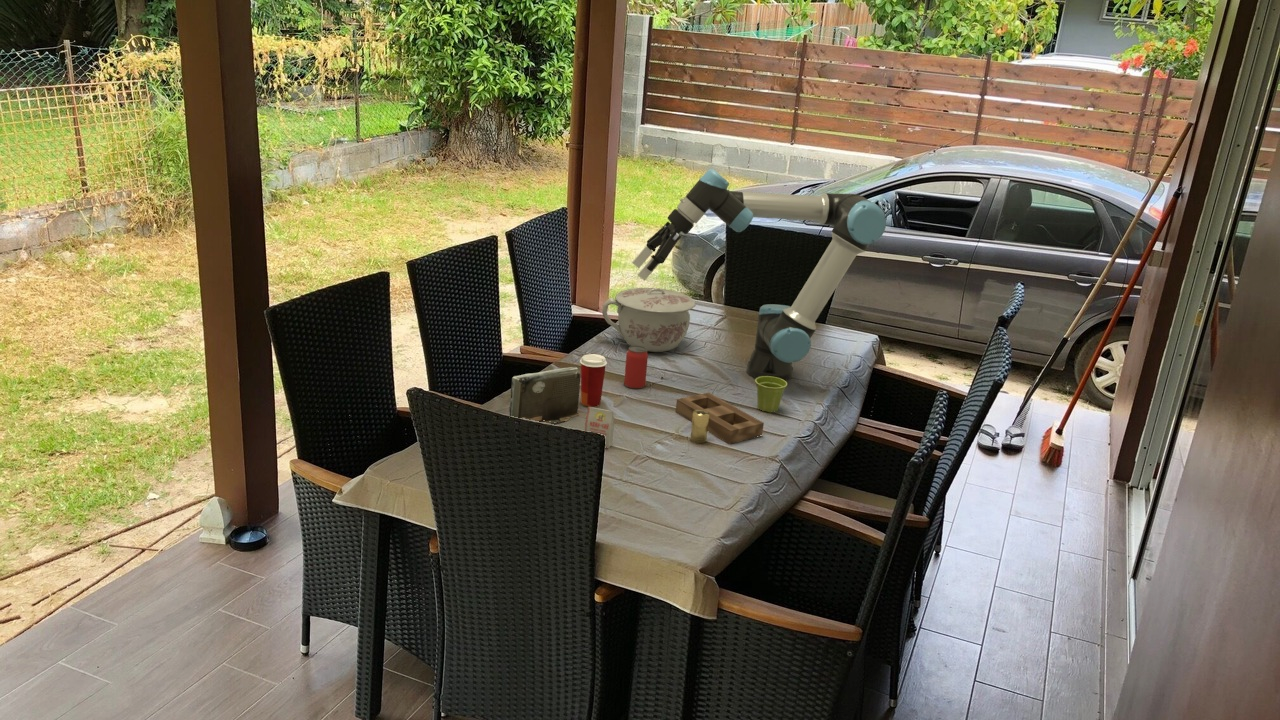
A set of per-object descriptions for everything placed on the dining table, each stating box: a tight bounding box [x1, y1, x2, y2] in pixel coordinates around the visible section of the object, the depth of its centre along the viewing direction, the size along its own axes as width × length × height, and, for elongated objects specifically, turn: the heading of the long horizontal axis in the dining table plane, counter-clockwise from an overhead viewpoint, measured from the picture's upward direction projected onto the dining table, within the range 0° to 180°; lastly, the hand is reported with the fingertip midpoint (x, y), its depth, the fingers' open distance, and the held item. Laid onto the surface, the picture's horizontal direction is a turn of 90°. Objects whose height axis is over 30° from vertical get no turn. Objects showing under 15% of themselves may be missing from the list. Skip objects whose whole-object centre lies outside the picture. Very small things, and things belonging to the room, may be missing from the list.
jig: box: [675, 392, 765, 445], centre depth 274 cm, size 12×24×4 cm, turn 36°
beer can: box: [623, 345, 649, 390], centre depth 296 cm, size 7×7×12 cm
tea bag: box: [584, 406, 615, 450], centre depth 255 cm, size 4×7×10 cm, turn 74°
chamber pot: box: [601, 287, 697, 353], centre depth 330 cm, size 28×28×21 cm
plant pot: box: [754, 376, 788, 413], centre depth 287 cm, size 9×9×9 cm
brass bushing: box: [689, 410, 709, 444], centre depth 262 cm, size 4×4×8 cm
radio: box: [508, 365, 581, 425], centre depth 266 cm, size 23×9×15 cm, turn 127°
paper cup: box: [579, 353, 608, 408], centre depth 280 cm, size 8×8×14 cm
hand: (637, 271), depth 286 cm, fingers open, 13 cm apart
